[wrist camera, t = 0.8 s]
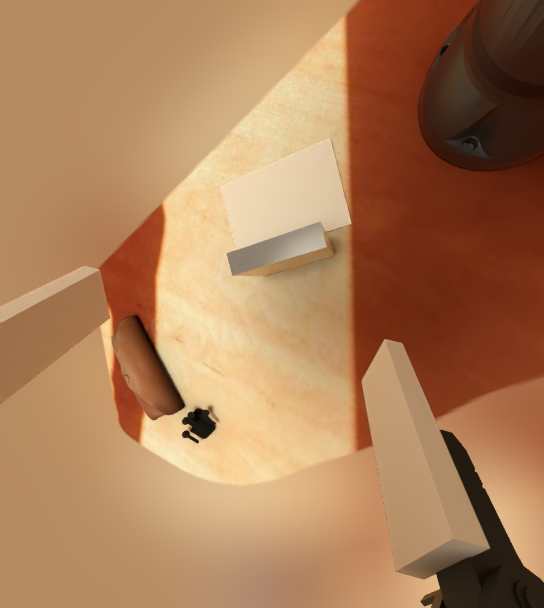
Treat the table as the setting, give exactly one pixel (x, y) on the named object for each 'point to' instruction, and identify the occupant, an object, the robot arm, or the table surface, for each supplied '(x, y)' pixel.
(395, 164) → the table surface
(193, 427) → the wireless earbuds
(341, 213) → the felt mat
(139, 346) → the sunglasses case
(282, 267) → the slate tile
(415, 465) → the robot arm
